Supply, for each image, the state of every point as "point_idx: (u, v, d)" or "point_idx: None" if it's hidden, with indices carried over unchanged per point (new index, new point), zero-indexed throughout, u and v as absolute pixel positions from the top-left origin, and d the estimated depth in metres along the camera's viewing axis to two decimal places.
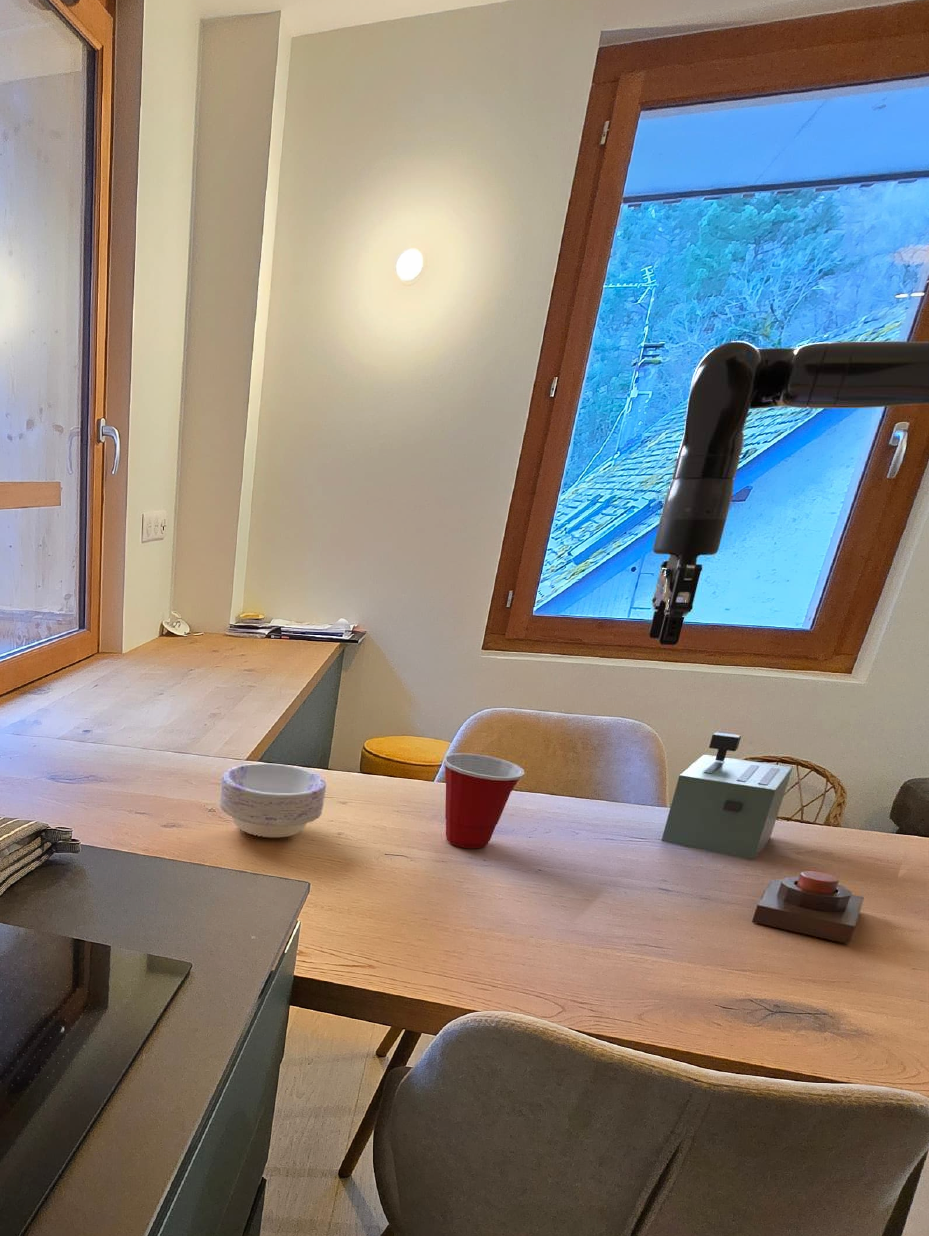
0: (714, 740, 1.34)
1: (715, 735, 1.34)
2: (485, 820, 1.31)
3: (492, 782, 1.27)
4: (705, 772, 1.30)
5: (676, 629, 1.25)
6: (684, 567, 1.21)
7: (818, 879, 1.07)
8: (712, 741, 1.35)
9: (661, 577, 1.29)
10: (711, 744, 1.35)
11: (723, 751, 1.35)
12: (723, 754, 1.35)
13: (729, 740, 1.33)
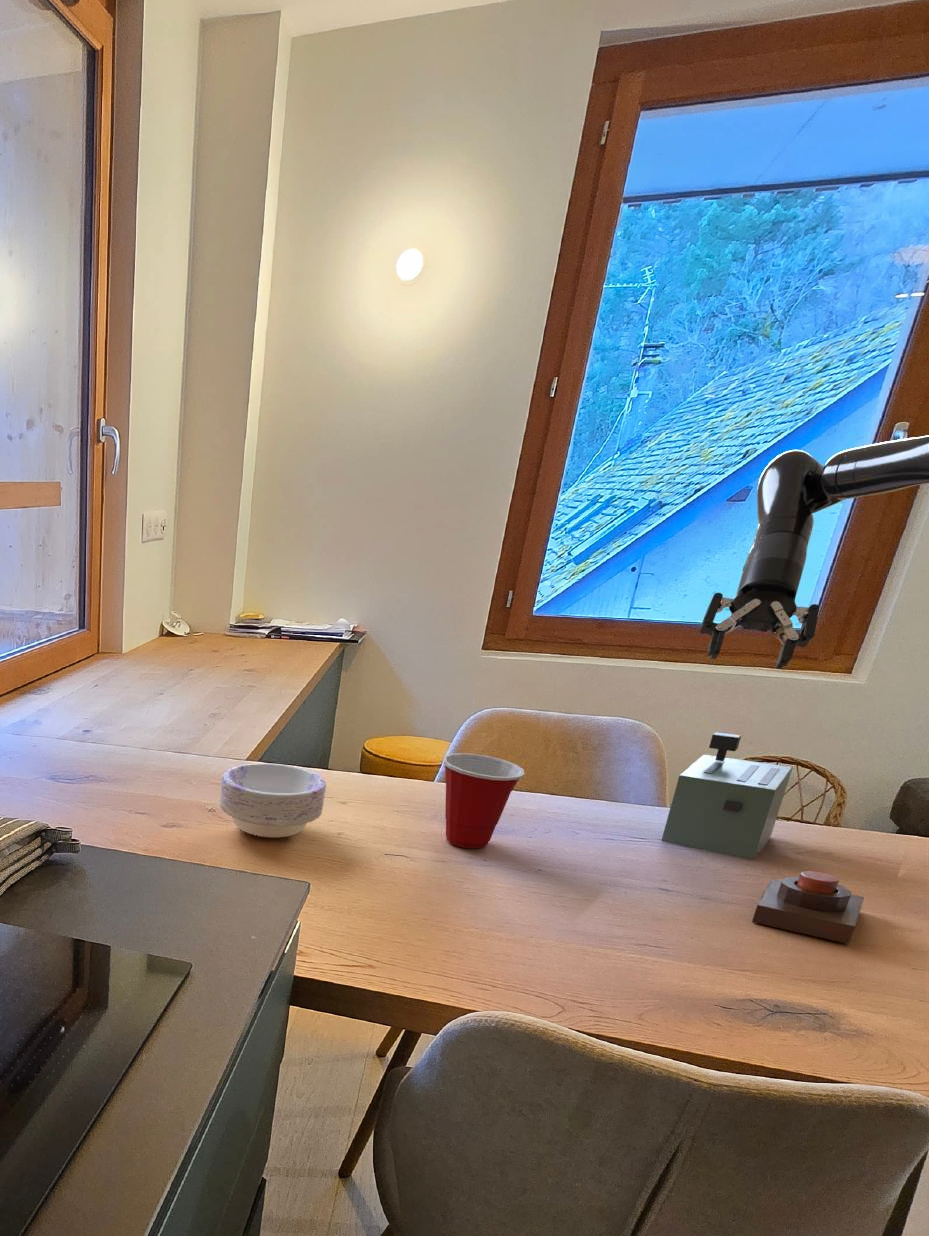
0: (714, 740, 1.34)
1: (715, 735, 1.34)
2: (485, 820, 1.31)
3: (492, 782, 1.27)
4: (705, 772, 1.30)
5: (710, 642, 1.44)
6: None
7: (818, 879, 1.07)
8: (712, 741, 1.35)
9: None
10: (711, 744, 1.35)
11: (723, 751, 1.35)
12: (723, 754, 1.35)
13: (729, 740, 1.33)
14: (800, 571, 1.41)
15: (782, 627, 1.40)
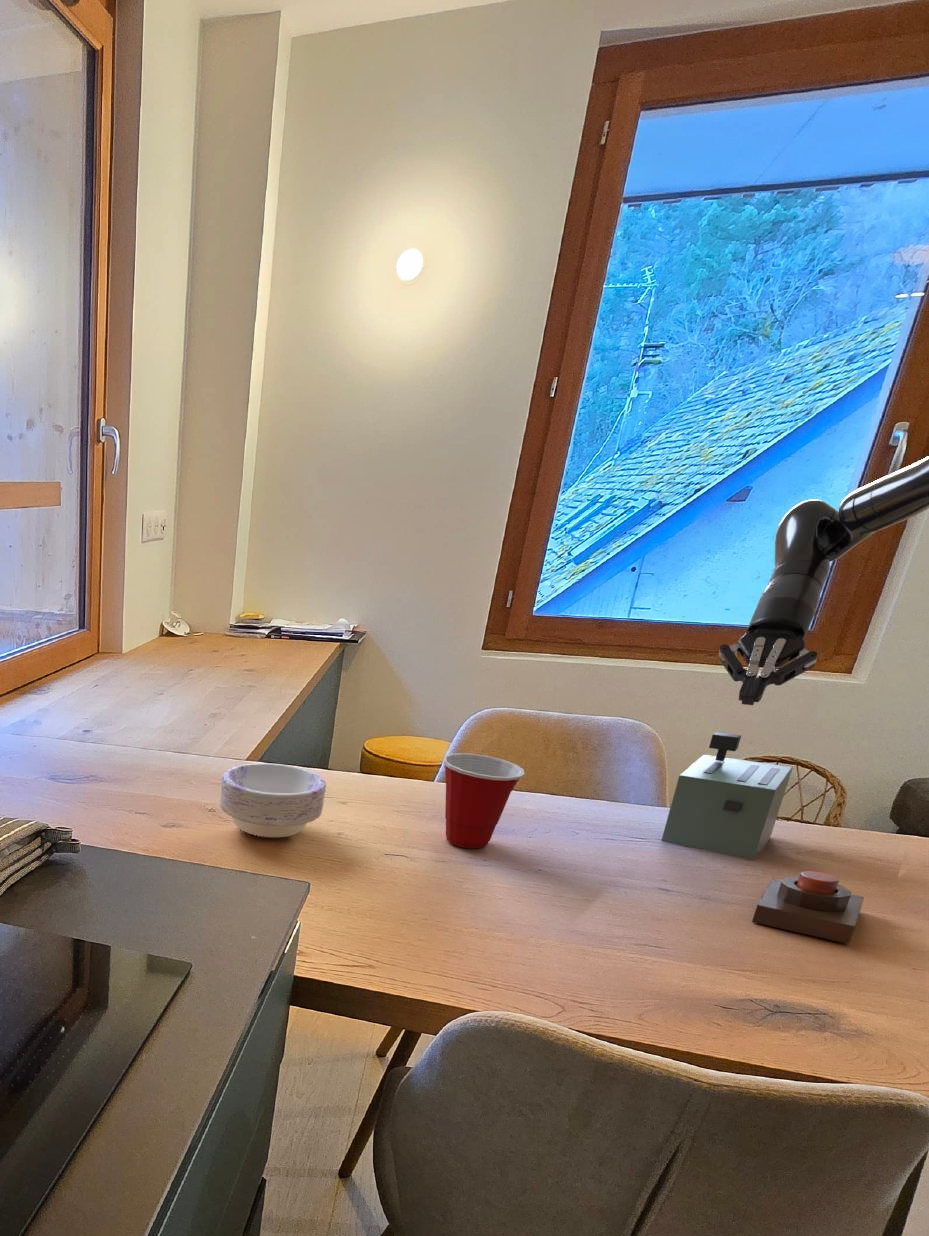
0: (714, 740, 1.34)
1: (715, 735, 1.34)
2: (485, 820, 1.31)
3: (492, 782, 1.27)
4: (705, 772, 1.30)
5: (741, 687, 1.42)
6: (719, 656, 1.47)
7: (818, 879, 1.07)
8: (712, 741, 1.35)
9: None
10: (711, 744, 1.35)
11: (723, 751, 1.35)
12: (723, 754, 1.35)
13: (729, 740, 1.33)
14: (809, 610, 1.41)
15: None
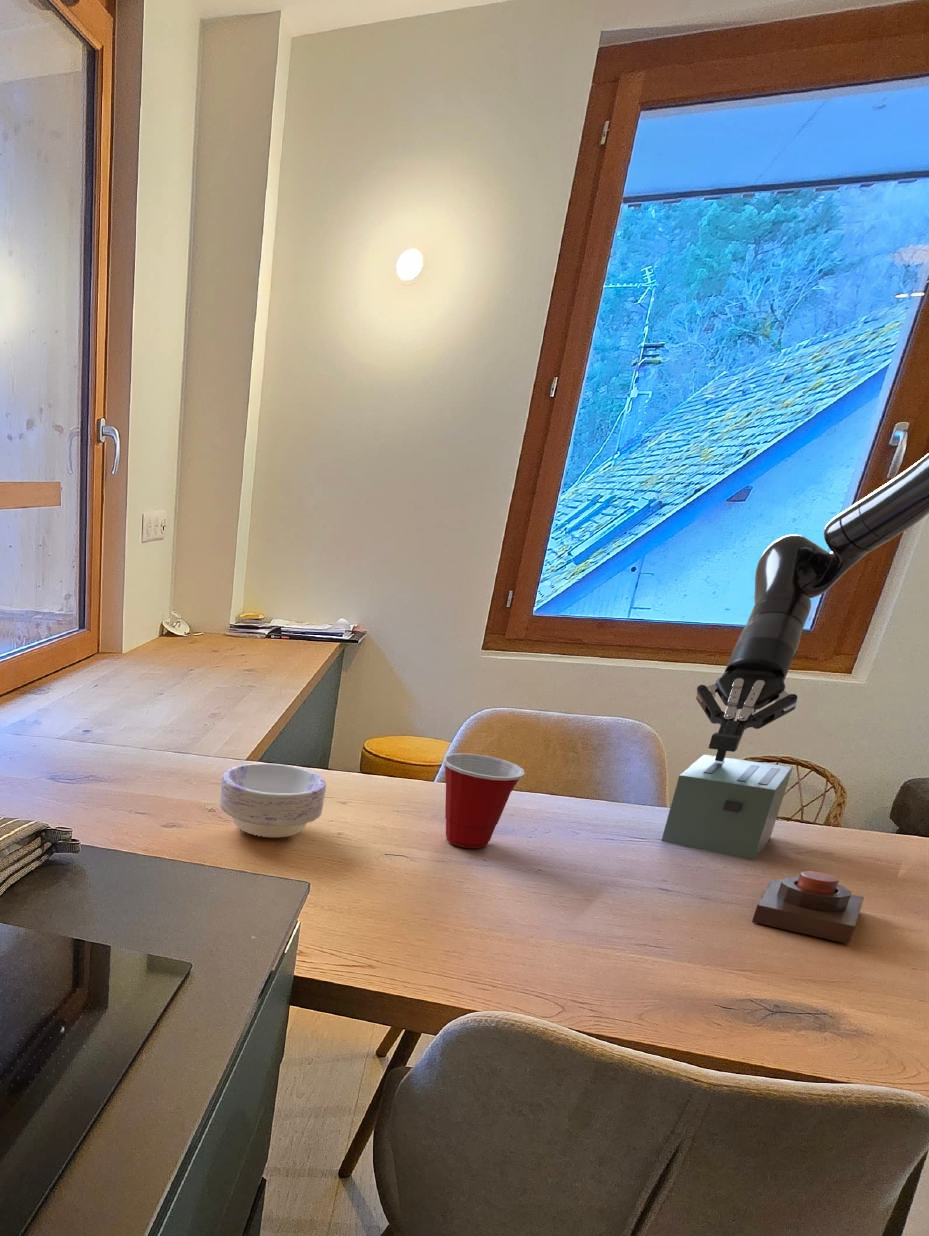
0: (713, 740, 1.34)
1: (714, 735, 1.34)
2: (485, 820, 1.31)
3: (492, 782, 1.27)
4: (705, 772, 1.30)
5: (718, 731, 1.37)
6: (696, 696, 1.42)
7: (818, 879, 1.07)
8: (711, 741, 1.34)
9: None
10: (710, 744, 1.35)
11: (722, 751, 1.34)
12: (722, 754, 1.34)
13: (728, 741, 1.33)
14: (789, 650, 1.36)
15: (744, 705, 1.36)
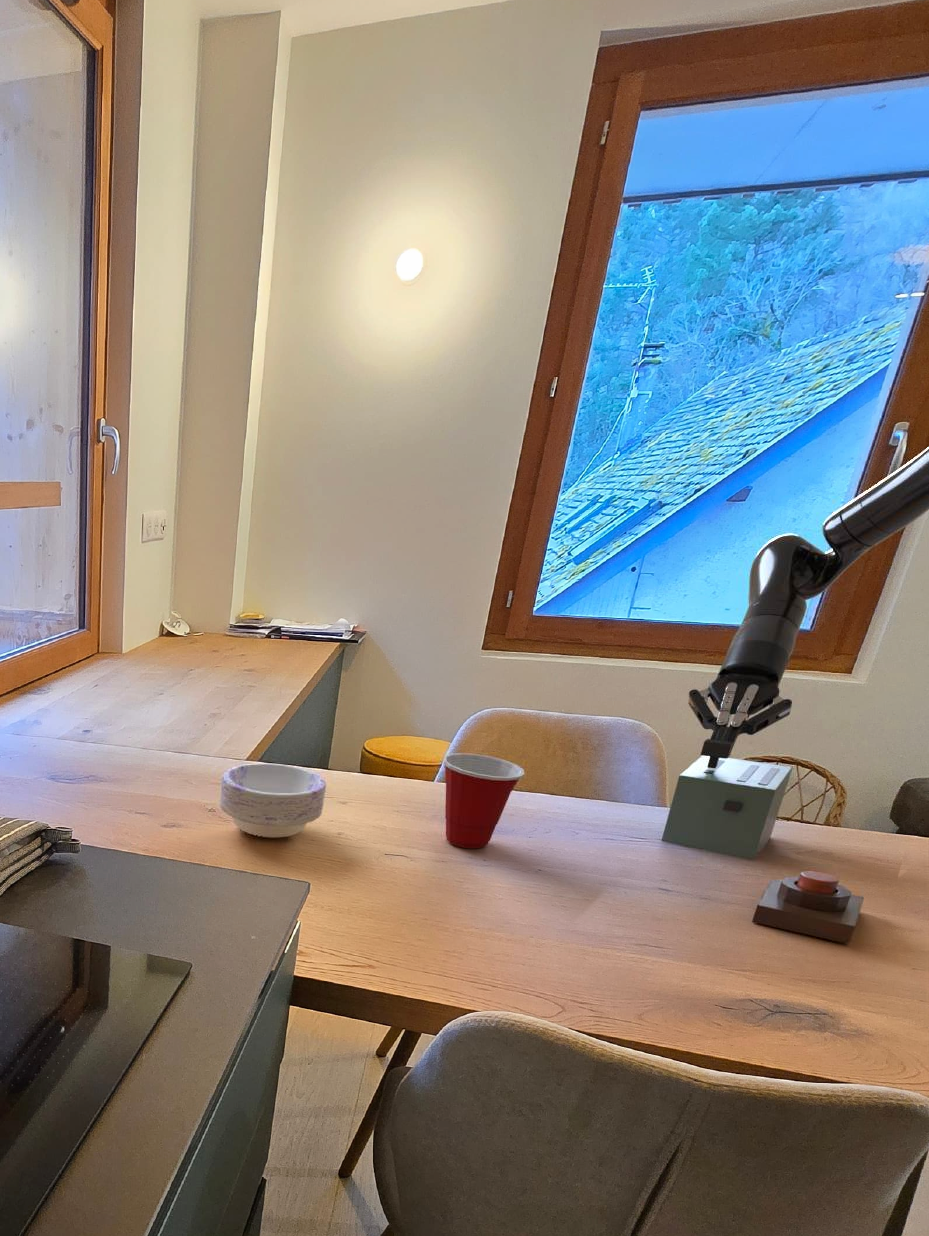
0: (706, 747, 1.30)
1: (707, 742, 1.30)
2: (485, 820, 1.31)
3: (492, 782, 1.27)
4: (705, 772, 1.30)
5: (711, 737, 1.33)
6: None
7: (818, 879, 1.07)
8: (704, 747, 1.31)
9: None
10: (703, 751, 1.31)
11: (715, 758, 1.30)
12: (715, 761, 1.31)
13: (721, 747, 1.29)
14: (784, 654, 1.32)
15: (737, 710, 1.32)
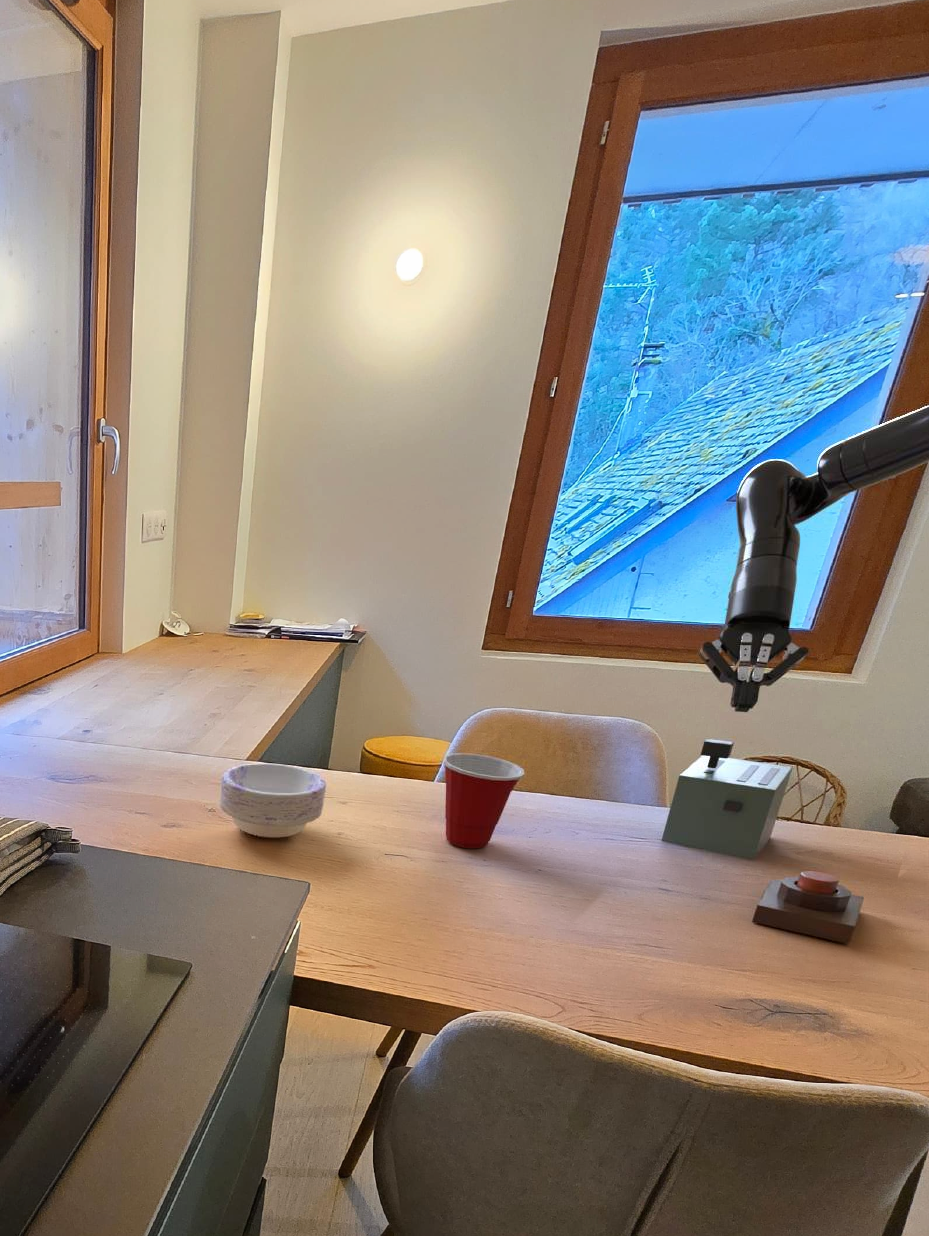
0: (706, 747, 1.30)
1: (707, 742, 1.30)
2: (485, 820, 1.31)
3: (492, 782, 1.27)
4: (705, 772, 1.30)
5: (733, 694, 1.30)
6: (700, 652, 1.34)
7: (818, 879, 1.07)
8: (704, 747, 1.31)
9: None
10: (703, 751, 1.31)
11: (715, 758, 1.31)
12: (715, 761, 1.31)
13: (721, 747, 1.29)
14: (792, 597, 1.29)
15: (756, 663, 1.30)
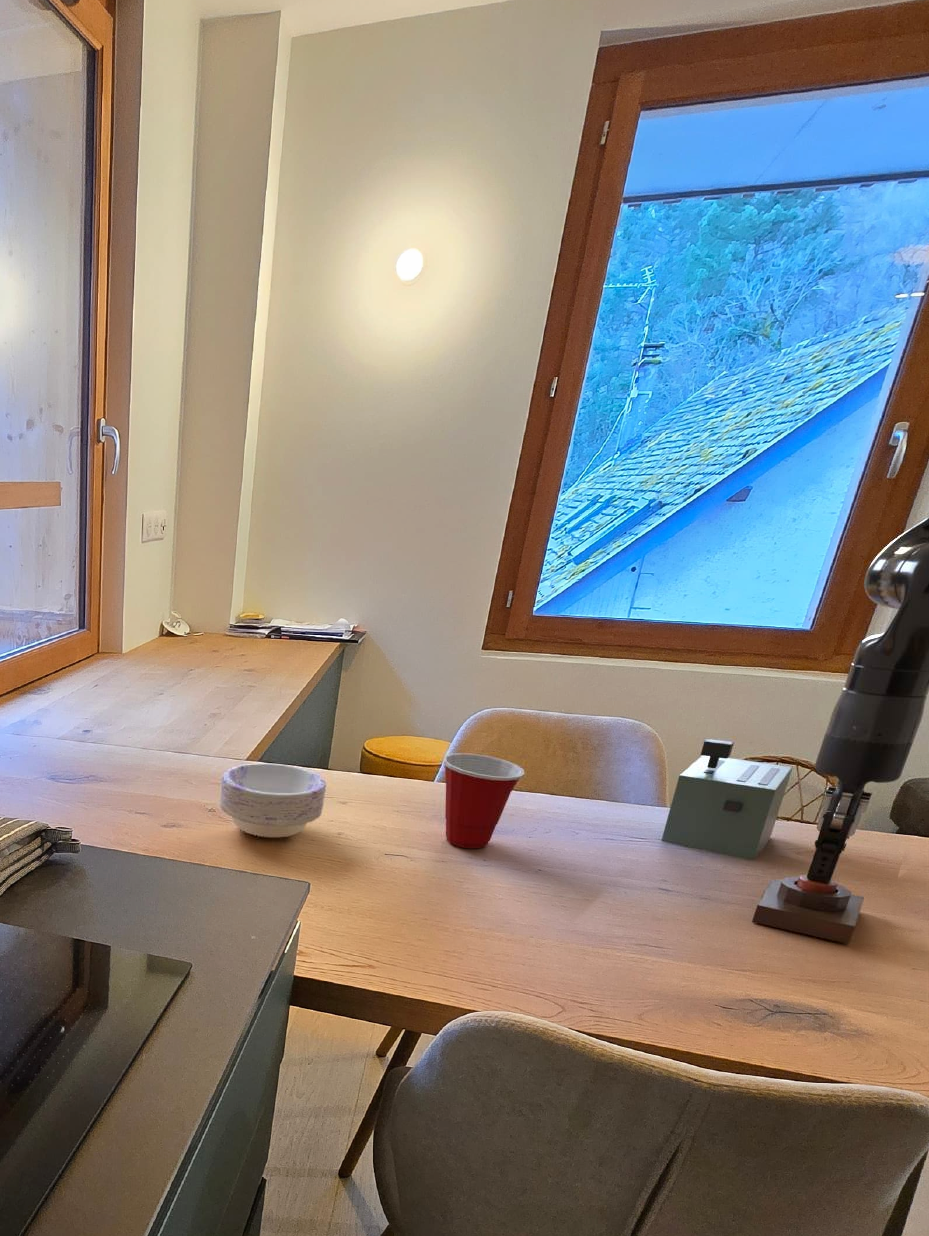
0: (706, 747, 1.30)
1: (707, 742, 1.30)
2: (485, 820, 1.31)
3: (492, 782, 1.27)
4: (705, 772, 1.30)
5: (827, 867, 1.07)
6: (829, 819, 1.02)
7: (817, 883, 1.08)
8: (704, 747, 1.31)
9: None
10: (703, 751, 1.31)
11: (715, 758, 1.31)
12: (715, 761, 1.31)
13: (721, 747, 1.29)
14: None
15: None
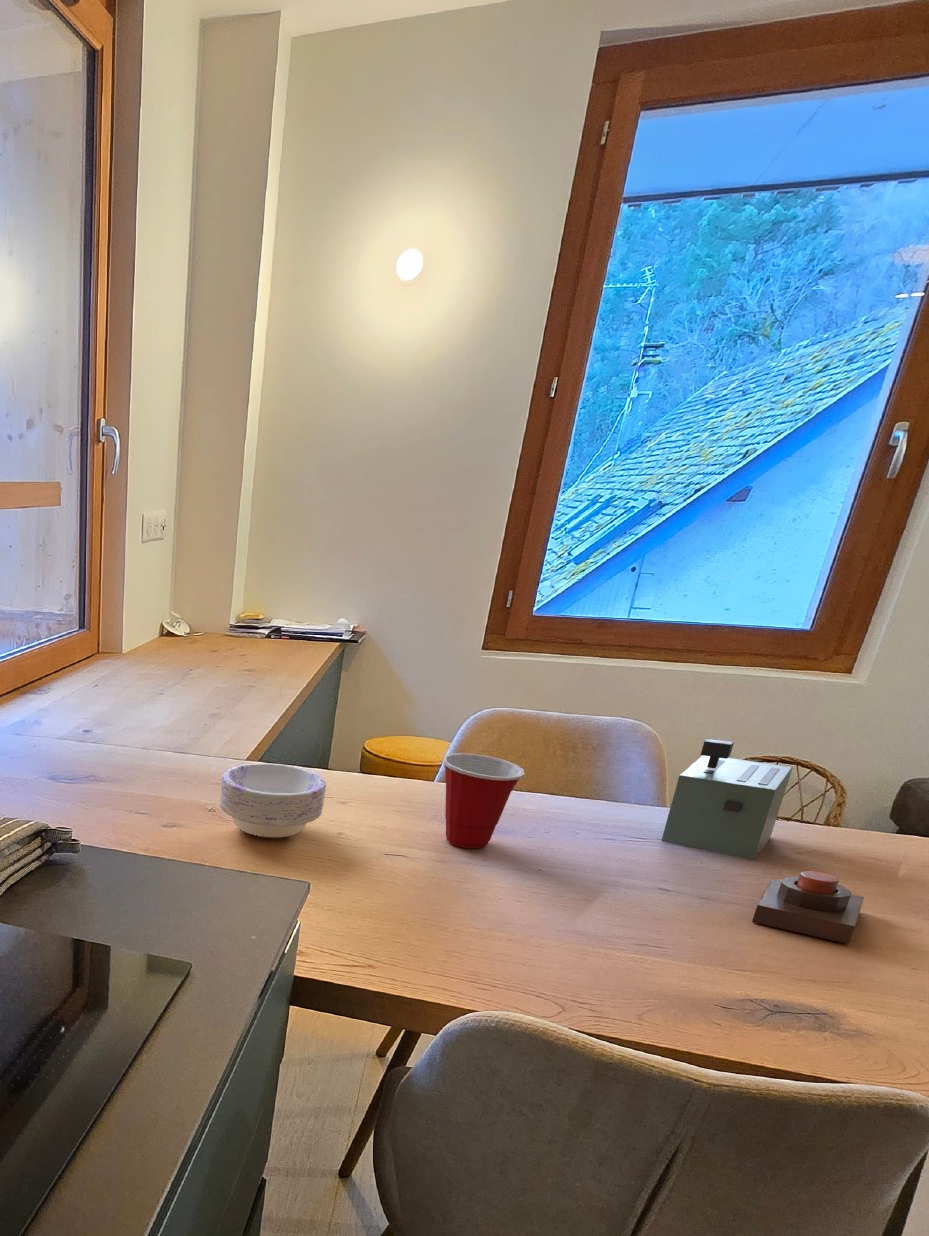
0: (706, 747, 1.30)
1: (707, 742, 1.30)
2: (485, 820, 1.31)
3: (492, 782, 1.27)
4: (705, 772, 1.30)
5: None
6: None
7: (818, 879, 1.07)
8: (704, 747, 1.31)
9: None
10: (703, 751, 1.31)
11: (715, 758, 1.31)
12: (715, 761, 1.31)
13: (721, 747, 1.29)
14: None
15: None
